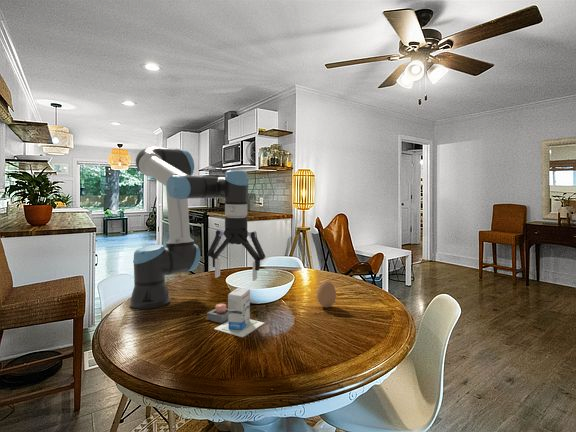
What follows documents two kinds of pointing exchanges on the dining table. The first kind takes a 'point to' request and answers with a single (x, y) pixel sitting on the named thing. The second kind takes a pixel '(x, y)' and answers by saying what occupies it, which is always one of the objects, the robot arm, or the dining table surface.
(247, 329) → the sheet
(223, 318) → the button housing
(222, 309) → the button
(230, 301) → the ink box
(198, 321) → the dining table surface
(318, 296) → the egg
